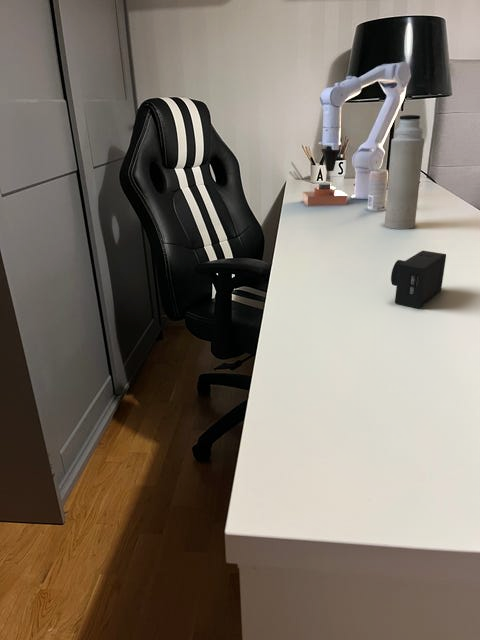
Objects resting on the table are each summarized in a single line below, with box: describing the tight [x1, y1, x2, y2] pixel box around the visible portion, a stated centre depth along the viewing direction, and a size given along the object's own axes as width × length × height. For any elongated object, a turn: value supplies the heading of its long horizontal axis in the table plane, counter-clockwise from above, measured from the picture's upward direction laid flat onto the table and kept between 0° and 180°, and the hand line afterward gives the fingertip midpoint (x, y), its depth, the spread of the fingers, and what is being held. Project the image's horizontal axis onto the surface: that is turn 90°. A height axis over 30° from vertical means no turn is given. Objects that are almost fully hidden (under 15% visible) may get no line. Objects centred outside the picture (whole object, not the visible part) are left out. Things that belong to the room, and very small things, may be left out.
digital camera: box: [390, 250, 447, 310], centre depth 86 cm, size 10×5×7 cm, turn 141°
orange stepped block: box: [302, 186, 348, 207], centre depth 169 cm, size 13×10×5 cm
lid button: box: [318, 182, 332, 189], centre depth 168 cm, size 4×4×2 cm
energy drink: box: [366, 168, 389, 212], centre depth 155 cm, size 5×5×12 cm
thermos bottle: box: [383, 114, 425, 230], centre depth 131 cm, size 8×8×28 cm
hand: (329, 170), depth 168 cm, fingers closed
